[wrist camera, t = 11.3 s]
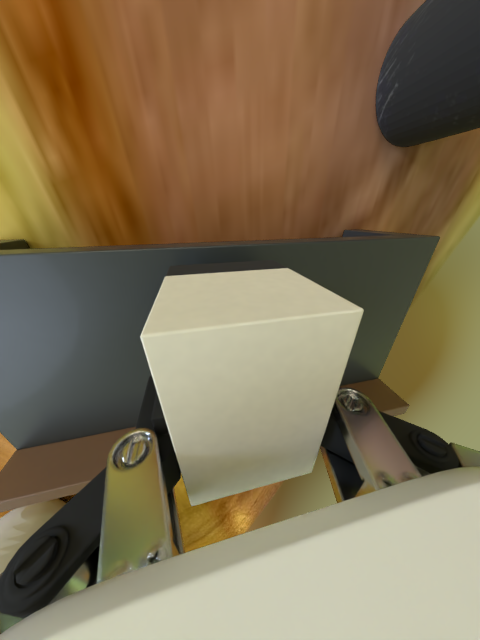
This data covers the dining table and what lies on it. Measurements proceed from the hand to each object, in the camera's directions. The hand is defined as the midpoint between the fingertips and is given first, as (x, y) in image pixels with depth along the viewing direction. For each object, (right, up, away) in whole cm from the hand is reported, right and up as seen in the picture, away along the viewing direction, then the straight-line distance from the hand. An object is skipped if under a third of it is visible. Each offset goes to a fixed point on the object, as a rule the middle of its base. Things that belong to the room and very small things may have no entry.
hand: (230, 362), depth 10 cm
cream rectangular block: (0, 0, +1) cm, 1 cm away
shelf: (-2, +3, +9) cm, 9 cm away
